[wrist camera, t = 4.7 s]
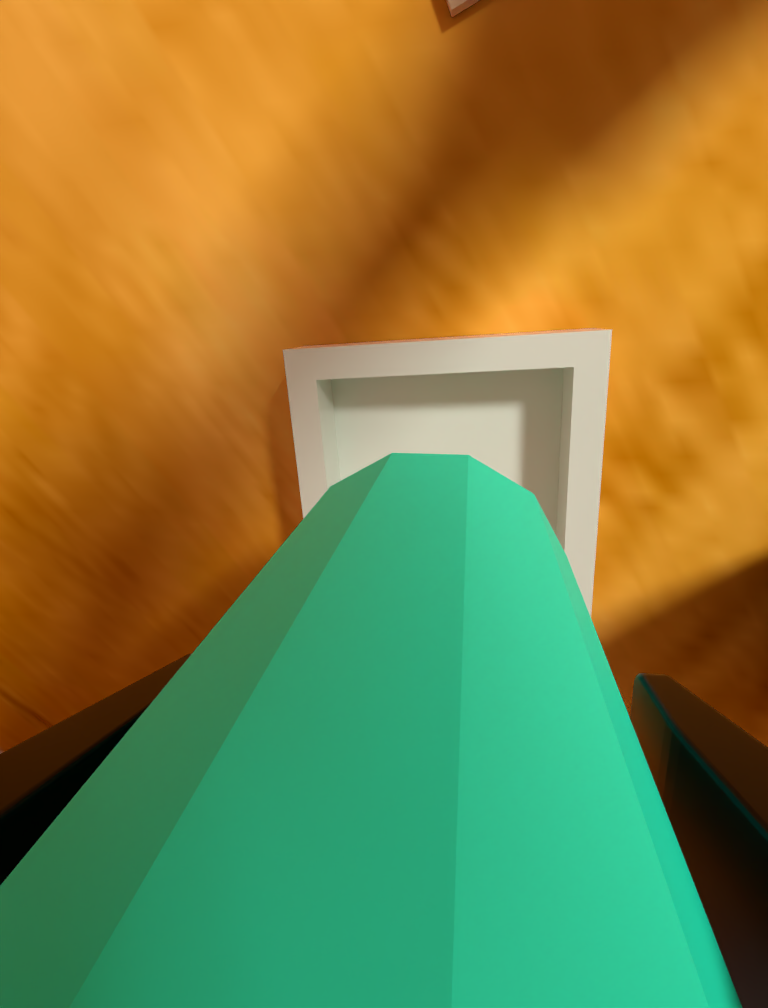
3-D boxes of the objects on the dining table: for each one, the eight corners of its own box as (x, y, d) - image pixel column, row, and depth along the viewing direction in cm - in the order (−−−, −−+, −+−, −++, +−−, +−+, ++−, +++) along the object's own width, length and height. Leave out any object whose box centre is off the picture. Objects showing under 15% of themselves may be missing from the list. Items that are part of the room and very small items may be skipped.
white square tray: (593, 328, 18) (618, 330, 15) (575, 611, 21) (593, 660, 18) (305, 345, 19) (274, 351, 16) (333, 605, 23) (312, 649, 20)
